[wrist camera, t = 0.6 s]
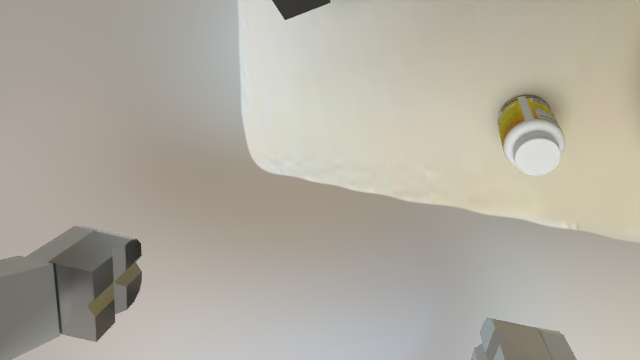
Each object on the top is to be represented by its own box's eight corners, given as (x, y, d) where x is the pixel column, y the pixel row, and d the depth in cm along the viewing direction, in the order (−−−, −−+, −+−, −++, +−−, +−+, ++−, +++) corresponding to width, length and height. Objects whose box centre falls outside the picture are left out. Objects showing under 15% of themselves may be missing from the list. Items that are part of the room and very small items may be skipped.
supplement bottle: (498, 142, 51) (506, 185, 43) (496, 97, 49) (504, 133, 40) (550, 137, 50) (570, 181, 41) (551, 90, 47) (572, 127, 39)
